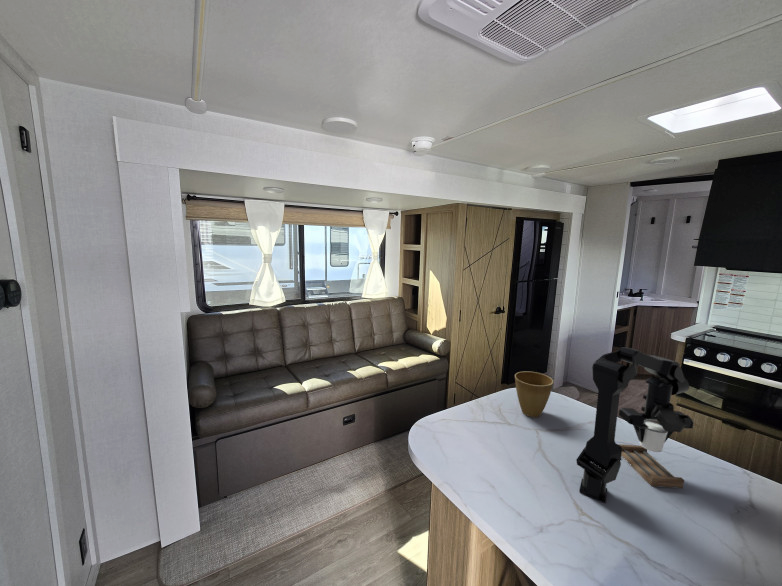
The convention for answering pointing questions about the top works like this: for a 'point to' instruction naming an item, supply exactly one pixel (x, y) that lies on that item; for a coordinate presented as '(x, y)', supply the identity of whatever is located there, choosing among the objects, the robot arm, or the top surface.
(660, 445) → the white tapered cylinder
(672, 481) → the rack
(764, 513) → the top surface
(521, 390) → the plant pot
